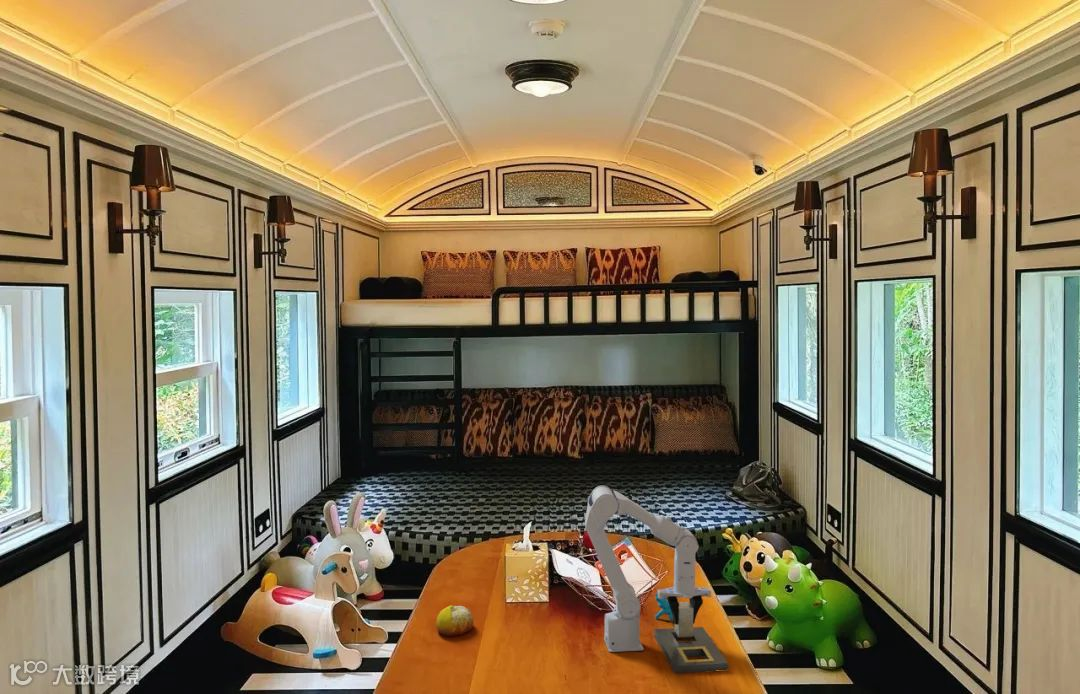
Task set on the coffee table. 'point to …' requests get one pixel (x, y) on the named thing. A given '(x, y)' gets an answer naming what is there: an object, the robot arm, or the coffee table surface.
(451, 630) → the fruit
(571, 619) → the coffee table surface
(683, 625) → the steel peg
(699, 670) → the hole plate
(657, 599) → the teal lobed piece
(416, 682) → the coffee table surface
